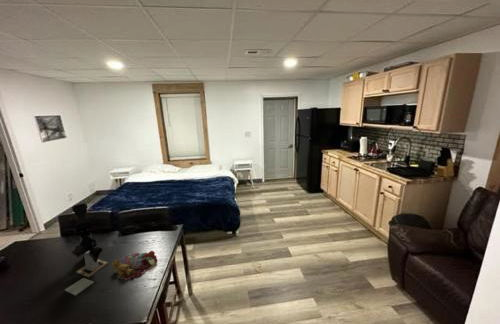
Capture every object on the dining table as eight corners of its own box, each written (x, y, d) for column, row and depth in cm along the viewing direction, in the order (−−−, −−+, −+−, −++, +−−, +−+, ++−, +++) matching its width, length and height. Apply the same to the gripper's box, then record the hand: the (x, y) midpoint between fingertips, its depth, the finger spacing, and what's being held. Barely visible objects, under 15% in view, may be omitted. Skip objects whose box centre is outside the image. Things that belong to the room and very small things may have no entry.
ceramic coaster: (64, 290, 120) (64, 289, 120) (83, 278, 130) (83, 277, 129) (75, 295, 117) (75, 294, 117) (93, 282, 126) (93, 281, 126)
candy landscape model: (130, 285, 123) (127, 272, 121) (106, 274, 133) (103, 261, 131) (163, 259, 145) (161, 248, 143) (140, 251, 155) (139, 240, 153)
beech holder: (76, 272, 135) (76, 271, 134) (97, 260, 146) (96, 258, 146) (88, 277, 130) (87, 275, 130) (108, 264, 142) (108, 262, 142)
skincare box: (86, 269, 137) (82, 253, 135) (93, 265, 141) (89, 249, 139) (92, 271, 135) (89, 255, 133) (99, 266, 139) (96, 251, 137)
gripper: (63, 243, 130) (68, 265, 133) (81, 249, 123) (87, 272, 126) (82, 234, 140) (87, 254, 143) (100, 239, 133) (105, 260, 136)
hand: (91, 260), depth 137 cm, fingers open, 9 cm apart
